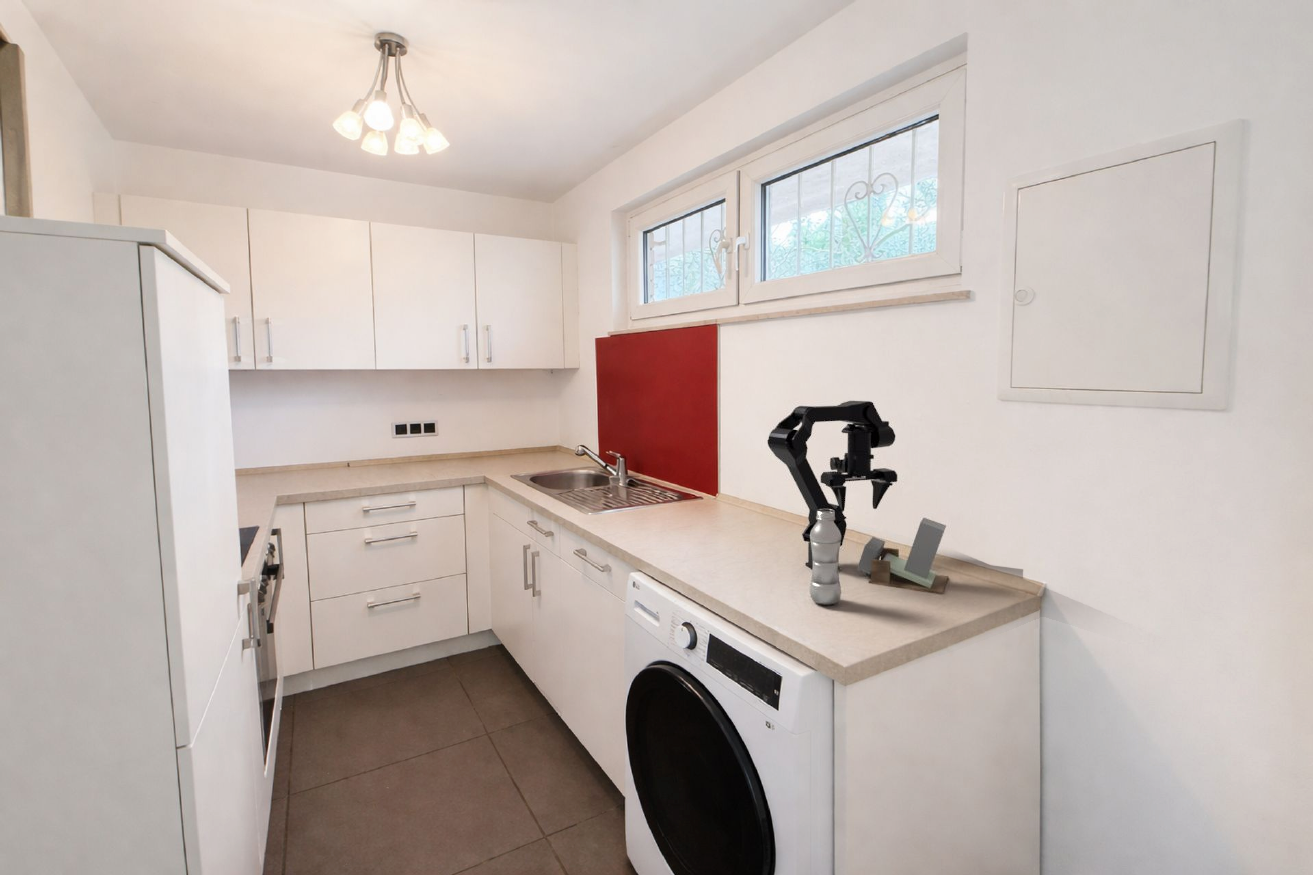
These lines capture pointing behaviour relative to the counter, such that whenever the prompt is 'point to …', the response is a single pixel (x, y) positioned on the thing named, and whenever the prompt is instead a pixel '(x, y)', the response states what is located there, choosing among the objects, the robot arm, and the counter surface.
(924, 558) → the grey rectangular block
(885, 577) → the frame
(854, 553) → the counter surface
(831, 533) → the plastic bottle
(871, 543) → the trapdoor
